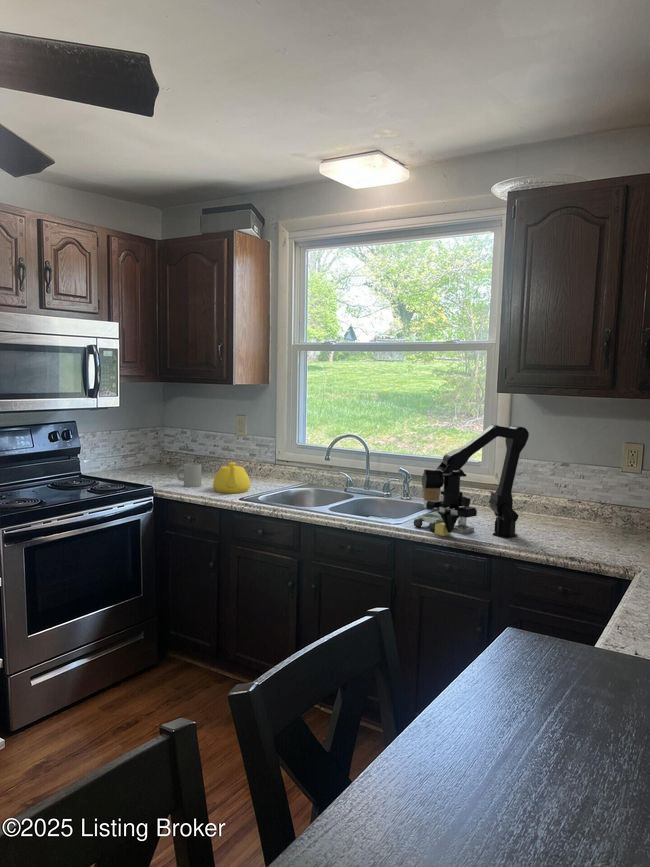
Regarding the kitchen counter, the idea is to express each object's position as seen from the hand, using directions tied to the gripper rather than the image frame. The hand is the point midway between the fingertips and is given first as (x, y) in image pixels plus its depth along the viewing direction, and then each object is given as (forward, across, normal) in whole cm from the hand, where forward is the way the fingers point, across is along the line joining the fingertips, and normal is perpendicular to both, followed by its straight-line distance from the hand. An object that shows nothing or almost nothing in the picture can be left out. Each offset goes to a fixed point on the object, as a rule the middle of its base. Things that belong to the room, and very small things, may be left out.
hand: (449, 532), depth 224 cm
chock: (+1, +3, 0) cm, 4 cm away
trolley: (+1, +12, -4) cm, 13 cm away
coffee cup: (+1, +37, -32) cm, 49 cm away
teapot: (+1, +118, +20) cm, 119 cm away
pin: (+1, +2, -10) cm, 10 cm away
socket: (+1, +2, -10) cm, 10 cm away
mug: (+1, +140, +31) cm, 144 cm away
